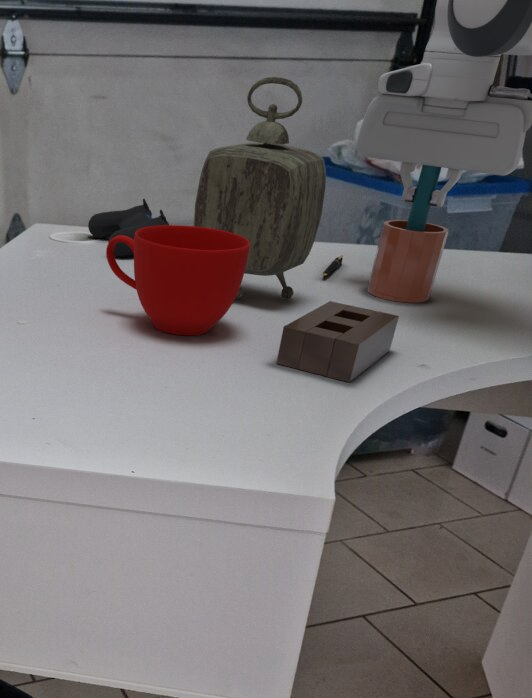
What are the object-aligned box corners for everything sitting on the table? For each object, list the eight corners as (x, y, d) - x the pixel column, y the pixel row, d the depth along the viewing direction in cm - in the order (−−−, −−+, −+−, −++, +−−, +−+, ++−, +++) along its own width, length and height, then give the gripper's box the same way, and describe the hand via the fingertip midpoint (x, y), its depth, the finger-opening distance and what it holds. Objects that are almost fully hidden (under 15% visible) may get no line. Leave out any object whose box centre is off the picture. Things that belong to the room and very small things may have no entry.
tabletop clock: (304, 300, 112) (348, 82, 97) (277, 313, 105) (321, 83, 91) (208, 279, 118) (237, 72, 104) (178, 291, 112) (204, 72, 97)
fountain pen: (326, 281, 121) (328, 270, 120) (318, 280, 122) (320, 269, 121) (343, 263, 132) (346, 253, 131) (336, 261, 132) (338, 252, 132)
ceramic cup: (126, 299, 107) (133, 215, 101) (250, 325, 101) (266, 237, 95) (78, 322, 97) (83, 231, 92) (212, 352, 91) (227, 256, 85)
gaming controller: (123, 276, 126) (181, 241, 125) (107, 241, 123) (166, 205, 122) (97, 250, 139) (149, 218, 138) (82, 218, 136) (134, 185, 135)
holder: (389, 350, 95) (399, 315, 93) (349, 382, 86) (359, 344, 83) (322, 335, 99) (329, 300, 97) (276, 363, 89) (283, 326, 87)
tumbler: (435, 294, 119) (455, 227, 113) (419, 306, 113) (439, 235, 108) (377, 283, 122) (394, 217, 117) (359, 294, 116) (376, 225, 111)
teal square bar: (413, 274, 116) (444, 163, 108) (408, 277, 115) (439, 164, 107) (396, 271, 117) (426, 160, 109) (391, 274, 116) (421, 162, 108)
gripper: (548, 89, 100) (507, 213, 108) (382, 74, 109) (356, 190, 117) (539, 90, 96) (497, 219, 104) (367, 75, 105) (341, 194, 113)
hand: (421, 203), depth 111 cm, fingers closed on teal square bar, 2 cm apart
